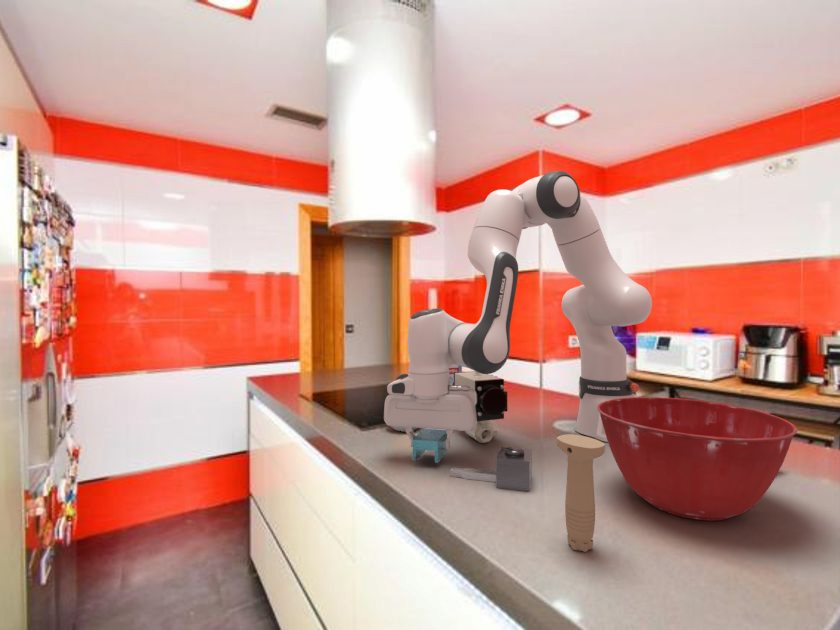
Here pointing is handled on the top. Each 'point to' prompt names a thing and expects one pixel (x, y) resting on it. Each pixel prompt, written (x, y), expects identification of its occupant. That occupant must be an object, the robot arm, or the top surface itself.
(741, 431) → the mixing bowl
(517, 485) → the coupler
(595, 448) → the handle
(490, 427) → the ball valve
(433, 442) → the teal storage bin
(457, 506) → the top surface
